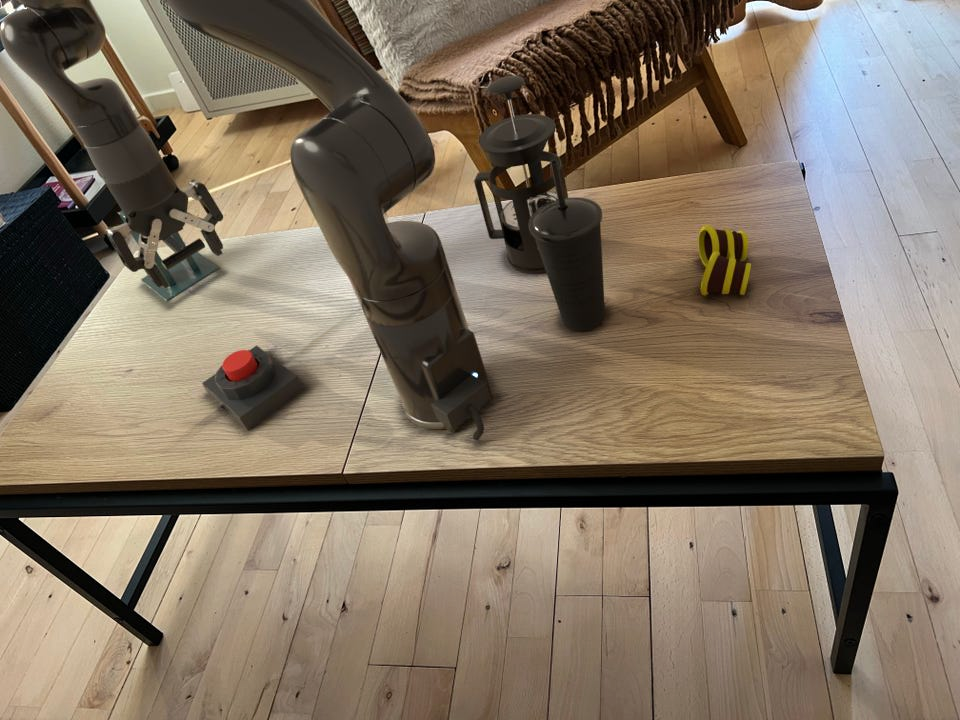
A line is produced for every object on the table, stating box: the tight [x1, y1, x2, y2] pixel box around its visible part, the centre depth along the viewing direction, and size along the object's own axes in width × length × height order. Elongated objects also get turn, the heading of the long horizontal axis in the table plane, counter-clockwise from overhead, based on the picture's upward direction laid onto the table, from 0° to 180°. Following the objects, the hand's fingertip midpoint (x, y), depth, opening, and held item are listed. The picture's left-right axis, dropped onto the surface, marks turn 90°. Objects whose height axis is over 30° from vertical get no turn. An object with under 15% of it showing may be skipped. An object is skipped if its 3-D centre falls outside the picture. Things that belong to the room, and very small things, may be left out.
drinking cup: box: [528, 161, 606, 333], centre depth 83 cm, size 8×8×20 cm
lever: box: [161, 236, 206, 270], centre depth 109 cm, size 12×6×2 cm, turn 43°
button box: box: [201, 345, 305, 432], centre depth 92 cm, size 10×8×4 cm
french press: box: [473, 75, 569, 275], centre depth 93 cm, size 12×9×23 cm
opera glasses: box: [697, 224, 752, 296], centre depth 87 cm, size 10×5×5 cm, turn 170°
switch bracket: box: [117, 210, 220, 302], centre depth 114 cm, size 10×9×13 cm
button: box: [221, 349, 258, 382], centre depth 90 cm, size 4×4×2 cm
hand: (191, 269), depth 108 cm, fingers open, 8 cm apart
